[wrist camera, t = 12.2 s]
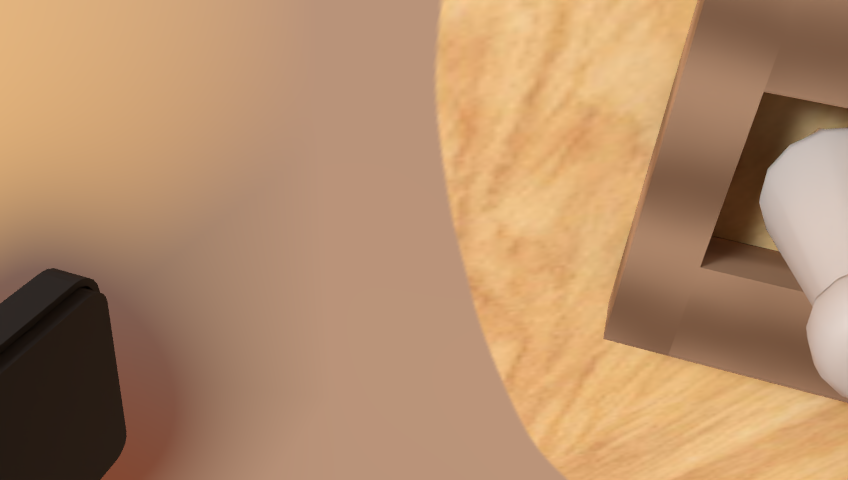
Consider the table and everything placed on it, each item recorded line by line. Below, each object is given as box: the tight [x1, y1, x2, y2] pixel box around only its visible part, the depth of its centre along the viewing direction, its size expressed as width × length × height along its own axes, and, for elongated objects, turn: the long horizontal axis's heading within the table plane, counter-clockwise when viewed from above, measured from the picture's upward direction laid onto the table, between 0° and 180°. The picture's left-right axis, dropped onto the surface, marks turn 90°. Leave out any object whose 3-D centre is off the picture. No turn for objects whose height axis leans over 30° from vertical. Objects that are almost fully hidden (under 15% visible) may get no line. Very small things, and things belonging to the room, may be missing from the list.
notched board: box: [603, 0, 848, 403], centre depth 32 cm, size 18×11×3 cm, turn 175°
